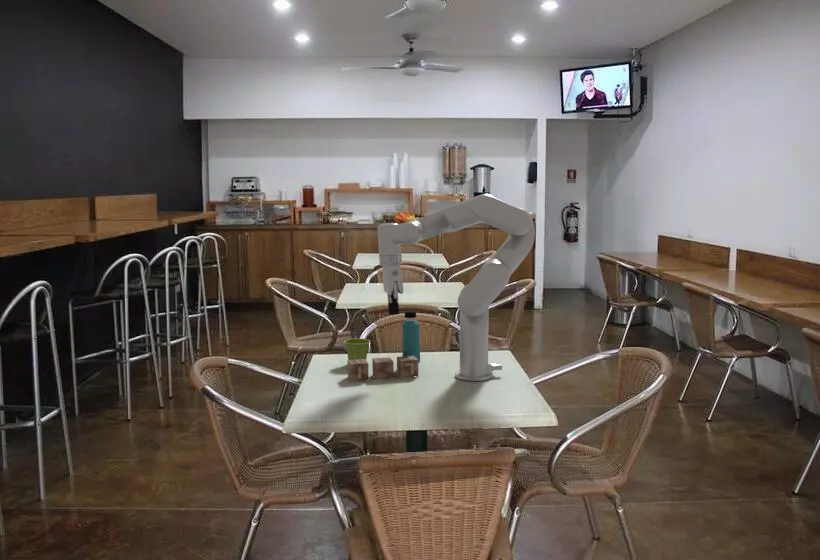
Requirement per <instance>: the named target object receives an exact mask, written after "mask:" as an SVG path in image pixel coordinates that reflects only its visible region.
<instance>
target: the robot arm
mask: <svg viewBox="0 0 820 560" xmlns="http://www.w3.org/2000/svg"><path fill="white" fill-rule="evenodd" d="M481 223H485V224H487V225H489V226H492V227H494V228H496V229H498V230H501V231H503V232H505V233H507V234H508V235H507V238H506V240H505V241H504V242H503V243H502V244H501V246H500V247H499V248H498V249H497V250H496V252H495V253H494V254H493V255H492V256H491V257H490V258H489V259H488V260H487V261H486V262H485V263H484V264H483V265H482V267H481V268H480V270H479V271H478V272H477V274H476V275H475V276H474V277H473V278H472V279H471V281H470V282H469V283H467V284H465V286H463V287H462V289H461V290H460V292H459V295H458V297H457V306H458V309H459V370H457V371H455V372H454V373H455V374H454V375H455V378H456V379H459V380H461V381H466V382H467V381H468V382H482V381H488V380H491V379H492V378H493V376H494V373H493V372H494V371H502V370H503V365H502V363H501V364H496V363H490V362H489V313H490V306H491V305H492V303H493V302H494V301H495V300H496V299H497V297H499V295H501V293H502V292H503V290H504V289H505V288H506V287H507V285H508V283H509V281H510V277H511V276H512V274H513V273H514V272H515V271H516V270H517V269H518V268H519V266H520V265H521V263H522V262H523V261H524V260H525V259H526V257H527V256H528V255H529V253H530V251H531V250H532V248H533V245H534V243H535V238H536V237H535V236H536V229H535V224H534V220H533V218H532V215H531V213H530V212H529V211H528V210H527V209H525V208H523V207H518V206H515V205H512V204H510V203H508V202H505V201H503V200H501V199H499V198H496V196H494V195H493V194H489V193H482V194H479V195H476V196H473V197H471V198H468V199H464V200H462V201H460V202H456V203H454V204H451V205H447V206H445V207H444V208H441V209H440V210H438V211H435V212H433V213H430V214H428V215H423V216H421V217H419V218H416V219H412V220H410V221H406V222H404V223H396V222H386V223H380V224H378V226H377V240H378V241H377V242H378V243H377V244H378V261H379V266H382V285H383V291H384V292H385V293H386V294H387V307H388V310H387V311H388V315H390V316H392V315H400V305H399V294H401V295H402V294H403V293H404V283H403V275H402V268H401V265H402V264H403V256H402V255H403V254H402V245H409V246H412V245H415V244H418V243H419V242H422V241H425V240H427V239H430V238H432V237H433V238H434V237H435V236H438V235H442V234H445V233H454V232H457V231H460V230H463V229H467V228H469V227H471V226H474V225H477V224H481Z"/></svg>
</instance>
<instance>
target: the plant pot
mask: <svg viewBox="0 0 820 560" xmlns="http://www.w3.org/2000/svg"><path fill="white" fill-rule="evenodd" d="M343 343H344V345H345V348H346V353H347V360H357V359H365V360H366V361H367V357H368V349H369V345H370V343H371V339H367V338H348V339H345V340H344V341H343Z"/></svg>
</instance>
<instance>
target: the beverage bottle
mask: <svg viewBox="0 0 820 560" xmlns="http://www.w3.org/2000/svg"><path fill="white" fill-rule="evenodd" d="M404 318H406V320H404V321H403V322H402V323H401V328H402V330H401V331H402V332H401V334H402V335H401V341H402V347H401V348H402V349H401V350H402V356H415V357H416V358H417V359H418V364H420V362H421V344H420V343H421V342H420V322H419V321H418V320H416V319H415V318H417V311H415V310H406V311H405V312H404Z"/></svg>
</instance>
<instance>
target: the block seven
mask: <svg viewBox="0 0 820 560" xmlns="http://www.w3.org/2000/svg"><path fill="white" fill-rule="evenodd" d="M396 374H397V375H398V377H401V378H400V379H405V378H404V377H410V378H415V377H414V376H418V377H419V363H418V359H417V358H416V357H415V356H403V355H401V356H397V357H396Z"/></svg>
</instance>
